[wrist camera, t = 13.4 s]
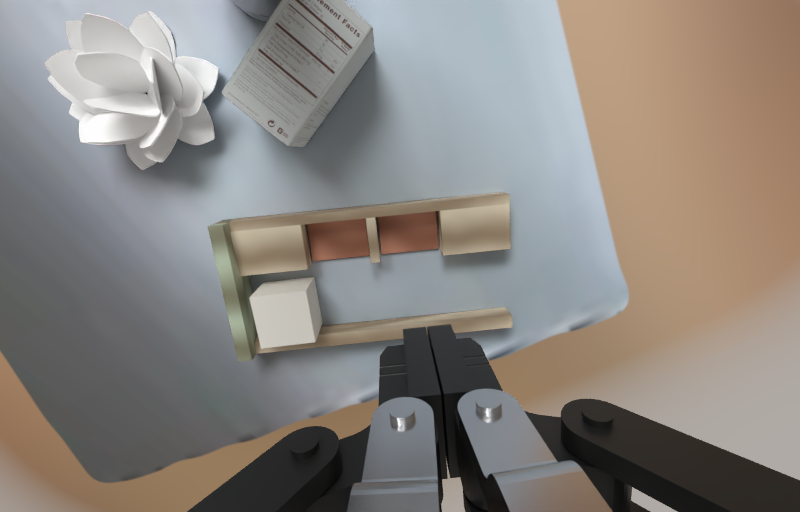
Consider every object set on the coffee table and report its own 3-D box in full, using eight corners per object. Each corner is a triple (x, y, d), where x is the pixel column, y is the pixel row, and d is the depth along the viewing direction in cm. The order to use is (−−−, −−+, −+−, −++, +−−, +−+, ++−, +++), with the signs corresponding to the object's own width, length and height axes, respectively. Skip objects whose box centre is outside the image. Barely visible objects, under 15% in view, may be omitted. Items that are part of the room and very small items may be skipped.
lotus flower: (241, 45, 39) (201, 16, 31) (210, 187, 43) (167, 196, 34) (93, -9, 38) (9, -55, 29) (74, 144, 41) (-6, 142, 33)
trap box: (223, 219, 44) (207, 226, 40) (502, 192, 44) (514, 196, 40) (250, 344, 48) (238, 361, 44) (505, 318, 48) (516, 333, 44)
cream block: (263, 282, 46) (249, 297, 41) (314, 276, 46) (305, 290, 41) (273, 328, 47) (261, 348, 43) (322, 322, 47) (315, 342, 43)
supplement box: (246, 102, 41) (318, -3, 38) (304, 149, 42) (377, 49, 40) (216, 91, 33) (303, -40, 31) (288, 148, 35) (375, 26, 33)
